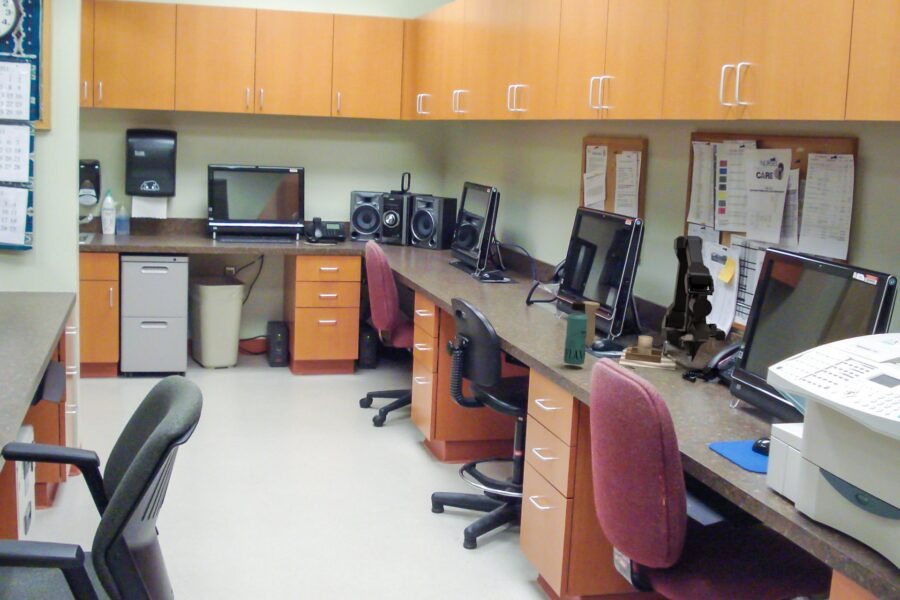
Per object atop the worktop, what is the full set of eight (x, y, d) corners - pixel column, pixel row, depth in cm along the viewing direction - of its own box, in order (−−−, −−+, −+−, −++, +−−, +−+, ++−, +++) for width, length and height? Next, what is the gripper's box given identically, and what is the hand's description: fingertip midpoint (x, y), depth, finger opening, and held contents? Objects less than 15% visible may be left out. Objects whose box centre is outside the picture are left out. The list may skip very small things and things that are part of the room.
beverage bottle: (560, 367, 295) (565, 302, 292) (566, 363, 301) (571, 299, 298) (581, 370, 293) (586, 305, 290) (586, 366, 299) (592, 302, 296)
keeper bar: (661, 354, 317) (662, 340, 316) (666, 354, 317) (668, 340, 317) (685, 369, 297) (687, 355, 296) (691, 369, 297) (692, 355, 297)
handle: (588, 344, 332) (592, 301, 329) (598, 348, 326) (602, 304, 323) (576, 345, 330) (580, 301, 327) (586, 349, 324) (589, 304, 321)
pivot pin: (637, 354, 315) (639, 335, 314) (651, 356, 314) (653, 336, 313) (636, 357, 311) (638, 337, 310) (650, 359, 310) (652, 339, 309)
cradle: (623, 352, 322) (623, 343, 322) (675, 358, 318) (676, 349, 318) (618, 366, 301) (619, 357, 300) (674, 373, 297) (675, 363, 297)
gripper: (674, 315, 289) (670, 367, 291) (735, 316, 291) (730, 367, 294) (662, 309, 300) (658, 358, 302) (720, 310, 302) (716, 359, 305)
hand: (691, 361), depth 300 cm, fingers closed
